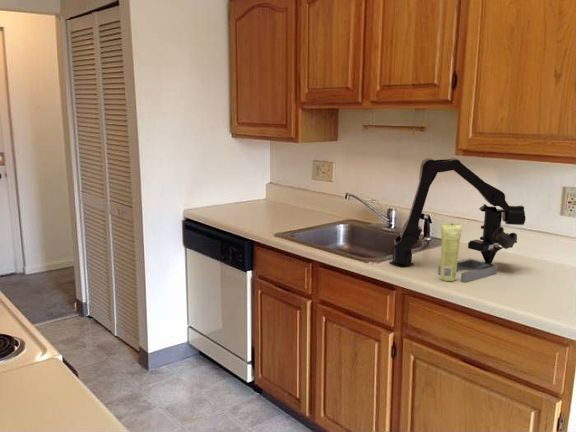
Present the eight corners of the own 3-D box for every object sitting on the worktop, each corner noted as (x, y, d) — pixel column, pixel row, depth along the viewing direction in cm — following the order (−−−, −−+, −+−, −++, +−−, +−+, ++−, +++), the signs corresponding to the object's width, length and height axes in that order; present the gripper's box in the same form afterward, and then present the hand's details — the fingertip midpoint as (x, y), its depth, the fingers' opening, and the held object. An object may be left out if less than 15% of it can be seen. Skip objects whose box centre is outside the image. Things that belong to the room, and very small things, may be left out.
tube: (445, 275, 183) (448, 220, 179) (459, 278, 179) (462, 222, 175) (437, 279, 179) (440, 223, 175) (451, 282, 175) (455, 225, 171)
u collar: (438, 274, 184) (438, 265, 184) (469, 266, 194) (470, 258, 194) (464, 282, 176) (465, 274, 175) (496, 273, 185) (496, 265, 185)
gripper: (497, 231, 177) (492, 275, 180) (528, 225, 187) (523, 267, 191) (468, 225, 186) (465, 267, 189) (500, 219, 196) (496, 259, 200)
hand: (488, 265), depth 192 cm, fingers closed
